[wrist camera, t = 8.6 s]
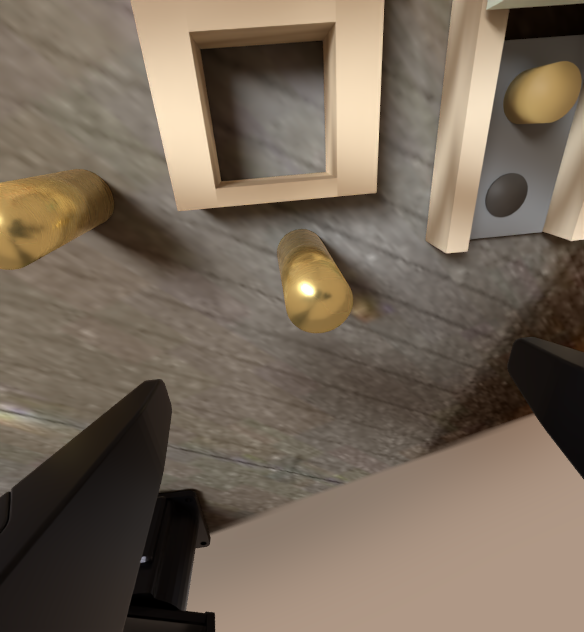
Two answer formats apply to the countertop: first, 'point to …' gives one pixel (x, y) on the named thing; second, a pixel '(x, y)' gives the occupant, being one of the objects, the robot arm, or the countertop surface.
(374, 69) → the socket board
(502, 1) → the lid
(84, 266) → the countertop surface
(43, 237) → the pin
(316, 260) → the pin
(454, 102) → the housing
